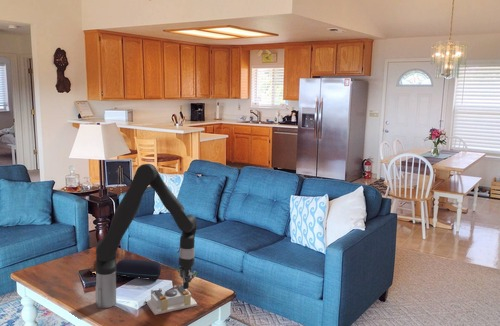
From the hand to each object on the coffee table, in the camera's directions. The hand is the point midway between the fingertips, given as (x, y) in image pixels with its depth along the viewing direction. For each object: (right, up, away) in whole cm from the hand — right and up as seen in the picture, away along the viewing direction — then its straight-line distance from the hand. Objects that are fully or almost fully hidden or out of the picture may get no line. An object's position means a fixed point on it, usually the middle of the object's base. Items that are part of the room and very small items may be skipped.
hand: (185, 288), depth 224 cm
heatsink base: (-8, -8, +3) cm, 12 cm away
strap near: (-13, -3, -1) cm, 13 cm away
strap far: (-2, -3, +4) cm, 6 cm away
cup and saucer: (-54, -1, +35) cm, 65 cm away
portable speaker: (-31, -3, +31) cm, 44 cm away
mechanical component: (-2, -6, +21) cm, 22 cm away
